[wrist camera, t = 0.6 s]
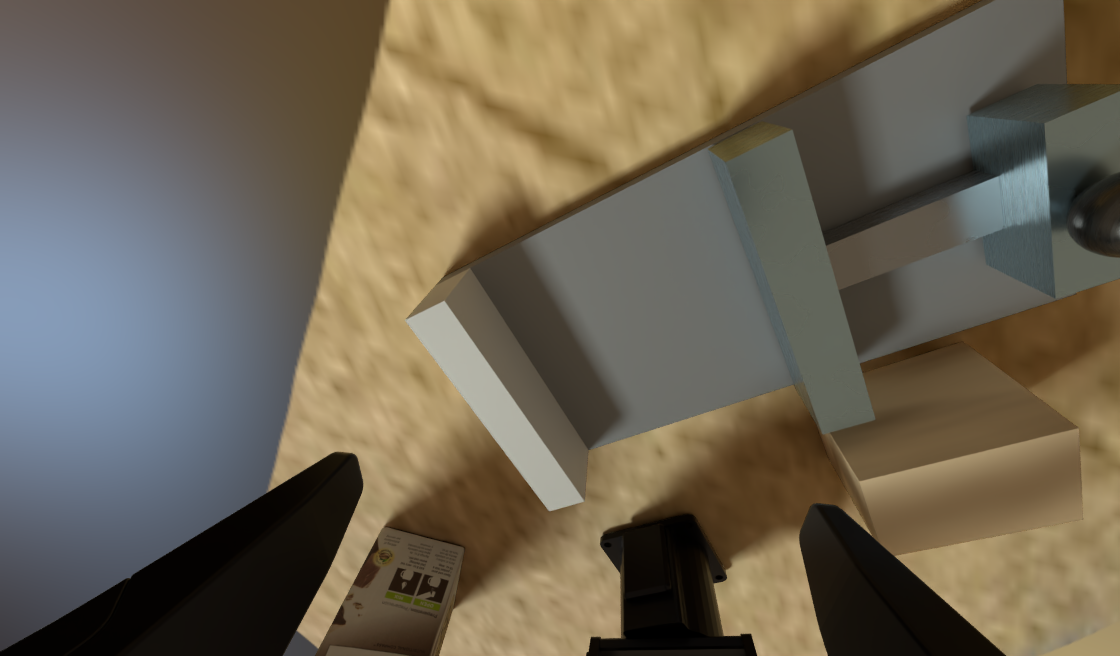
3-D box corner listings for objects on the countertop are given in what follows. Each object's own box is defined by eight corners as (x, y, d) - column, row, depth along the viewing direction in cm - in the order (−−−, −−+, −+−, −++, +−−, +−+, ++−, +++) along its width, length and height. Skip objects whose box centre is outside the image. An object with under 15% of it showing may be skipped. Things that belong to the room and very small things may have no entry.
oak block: (975, 418, 23) (1083, 519, 17) (827, 457, 25) (884, 557, 20) (961, 340, 21) (1078, 427, 15) (803, 390, 23) (859, 481, 18)
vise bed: (1055, 284, 19) (1170, 337, 15) (558, 447, 26) (549, 511, 23) (1034, -27, 14) (1192, -68, 10) (442, 277, 22) (404, 320, 18)
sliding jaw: (1058, 304, 18) (1222, 387, 13) (795, 388, 21) (849, 479, 16) (1037, -20, 13) (1277, -77, 9) (707, 148, 17) (745, 176, 12)
